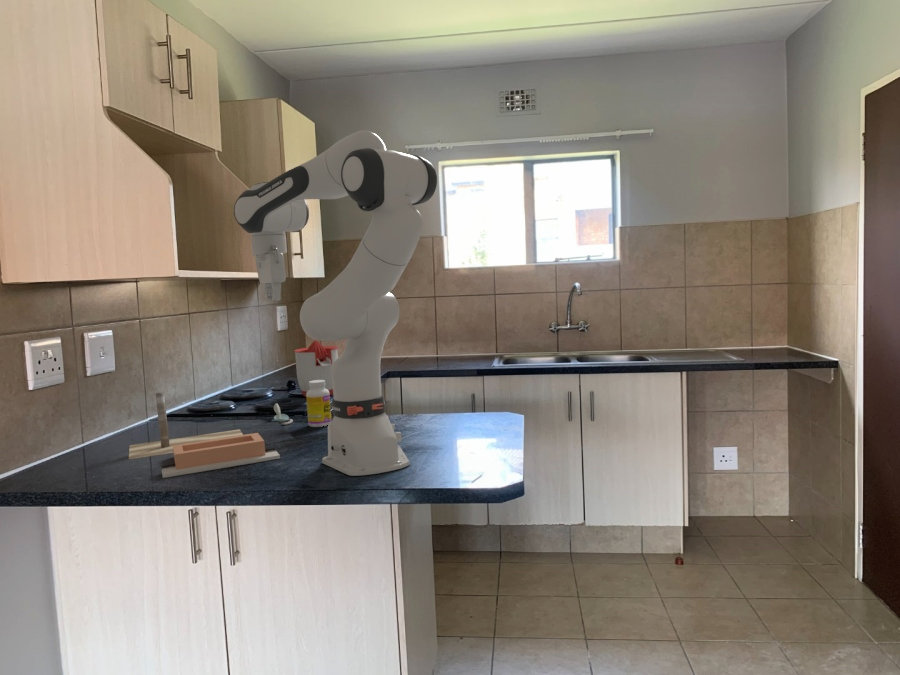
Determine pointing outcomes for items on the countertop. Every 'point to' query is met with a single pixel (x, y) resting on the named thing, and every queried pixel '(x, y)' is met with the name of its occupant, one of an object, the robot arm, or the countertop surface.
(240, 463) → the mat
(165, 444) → the stand
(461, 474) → the countertop surface
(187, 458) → the link
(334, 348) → the citrus juicer
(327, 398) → the supplement bottle
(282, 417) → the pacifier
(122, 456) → the countertop surface
